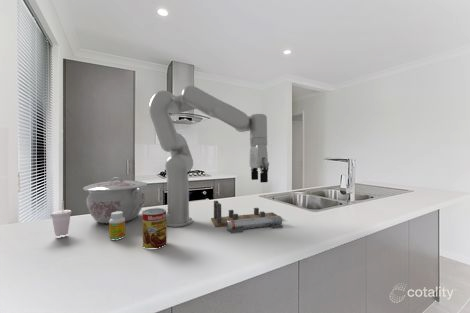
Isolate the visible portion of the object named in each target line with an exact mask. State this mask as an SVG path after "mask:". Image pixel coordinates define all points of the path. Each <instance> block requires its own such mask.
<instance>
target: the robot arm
mask: <svg viewBox="0 0 470 313" xmlns="http://www.w3.org/2000/svg"><path fill="white" fill-rule="evenodd" d="M148 107H149V108H148V109H149V116H150V119H151V121H152V124H153V127H154V130H155V133H156V136H157V139H158V142H159V144H160V147H161V149H162V150H163V151H164V152H166V153H170V156H168V158H167V159H166V161H165V165H164V166H165V175H166V187H167V189H166V192H167V195H166V196H167V199H166V200H167V211H166V227H171V228H175V227H176V228H177V227H186V226H189V225H191V224H192V223H193V218H191V217H190V206H189V205H190V201H189V200H190V190H189V188H190V187H189V184H190V182H189V175H188V174H189V173H188V172H190V171H191V170H192V169H193V166H194V160H193V156H192V153H191V151H190V148H189V144H188V143H187V140H186V138H185V137H184V136H183V135H182V134H181V133H178V132H177V130H176V128H175V124H174V121H173V119H172V117H171V115H177V114H178V115H179V114H182V113H185V112H189V111H190V112H191V111H192V110H198V111H199V112H201V113H203V114H204V115H207V116H208V117H211V118H214V119H217V120H219V121H221V122H223V123H225V124H227V125H228V126H230V127H231V128H234V129H235V131H237V132H238V133H244V132H249V145H250V147H249V148H250V149H249V167H250V172H251V173H250V174H251V175H250V176H251V177H250V178H251V180H252V181H254V180H255V181H257V180H259V177H260V180H259V182H260V183H268V181H269V179H268V175H269V169H270V168H269V166H270V162H269V160H268V159H269V158H268V148H267V146H268V117H267V115H266V114H264V113H253V114H251V116H250V115H247V113H246V112H244V111H242V110H240V109H238V108H237V107H235V106H233V105H231V104H230V103H227V102H225V101H223V100H221V99H218V98H217V97H215V96H214V95H211V94H209V93H208V92H206V91H204V90H202V89H200V88H198V87H197V86H194V85H186V86H185V87H184V88H183V89H182V92H181V95H176V94H173V93H172V92H171V91H168V90H158V91H157V92H155V93H154V95H152V97H151V98H150V101H149V106H148ZM258 170H260V173H259V171H258ZM259 175H260V176H259Z"/></svg>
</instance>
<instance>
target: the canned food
mask: <svg viewBox="0 0 470 313" xmlns="http://www.w3.org/2000/svg"><path fill="white" fill-rule="evenodd" d="M141 213H142V214H141V215H142V220H141V221H142V227H141V228H142V248H143V247H145V248H159V247H162V246H164V245H166V246H167V244H166V243H167V238H168V236H167V226H166V214H167V209H166V208H159V207H158V208H157V207H156V208H149V209H145V210H143V211H142V212H141ZM164 247H165V246H164ZM162 248H163V247H162Z"/></svg>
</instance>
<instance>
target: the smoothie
mask: <svg viewBox="0 0 470 313" xmlns="http://www.w3.org/2000/svg"><path fill="white" fill-rule="evenodd" d="M64 202H65V201H64V200H61V209H59V210H55V211H53V212H51V213H50V217H51V220H52V224H53V230H54V236H55V235H56V236H60V235H66V234H68V235H69V230H70V220H71V214H72V210H71V209H64V208H65V207H64V204H65V203H64ZM56 236H55V237H56Z"/></svg>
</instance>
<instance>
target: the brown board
mask: <svg viewBox="0 0 470 313" xmlns="http://www.w3.org/2000/svg"><path fill="white" fill-rule="evenodd" d="M271 216H279V215H278V214H276V213H274V212H265V211H263V210H262V211H260V208H259V207H254V208H253V213H251V214H240V215H239V213H235V212H234V210H233V209H228V216H227V215H226V216H222V204H221V203H220V202H219V201H218V200H213V217H211V218H210V221H211V222H212V225H213V226H214V227H215V228H219V227H220V228H221V227H227V226H226V222H227V221H229V220H239V219H250V218H260V217H271Z"/></svg>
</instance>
